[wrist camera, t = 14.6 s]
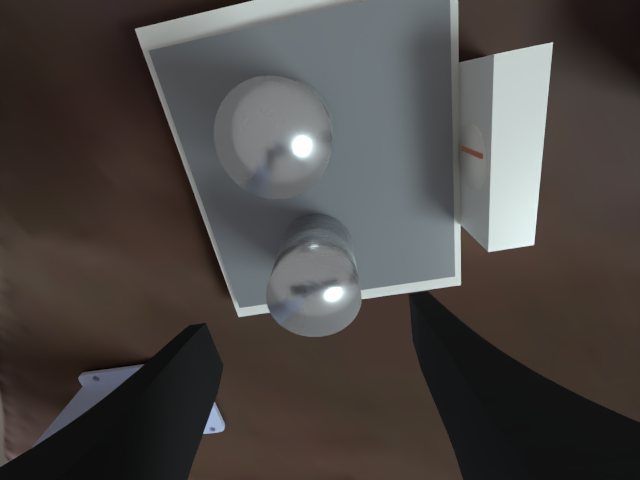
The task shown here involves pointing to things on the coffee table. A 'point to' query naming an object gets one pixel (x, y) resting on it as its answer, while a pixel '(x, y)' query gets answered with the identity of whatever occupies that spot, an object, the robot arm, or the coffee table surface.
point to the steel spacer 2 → (314, 278)
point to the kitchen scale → (362, 134)
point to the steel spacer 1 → (274, 136)
